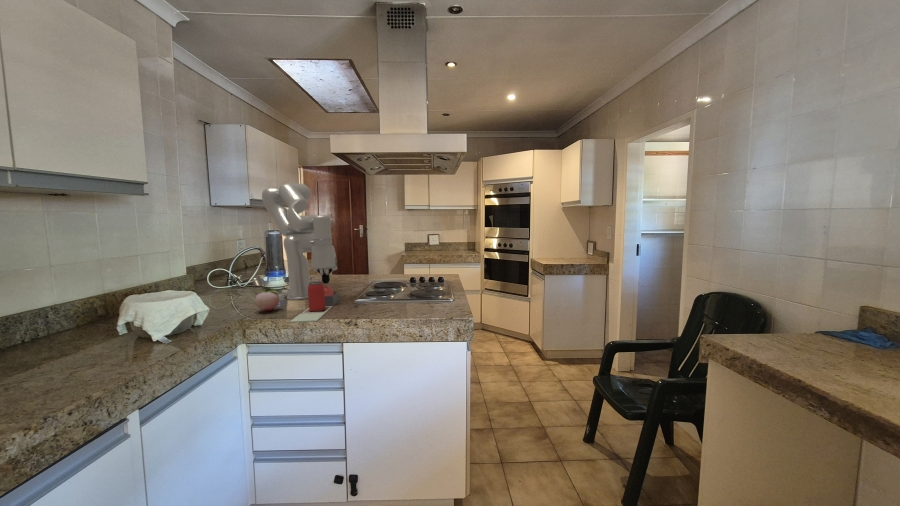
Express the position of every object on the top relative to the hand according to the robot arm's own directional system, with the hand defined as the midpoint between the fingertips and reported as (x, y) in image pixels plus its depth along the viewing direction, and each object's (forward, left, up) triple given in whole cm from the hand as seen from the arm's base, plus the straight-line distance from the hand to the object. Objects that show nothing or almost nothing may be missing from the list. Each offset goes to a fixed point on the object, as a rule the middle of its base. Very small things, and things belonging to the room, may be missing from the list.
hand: (326, 283), depth 152 cm
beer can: (-1, -10, -10) cm, 14 cm away
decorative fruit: (-22, -9, -10) cm, 26 cm away
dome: (0, 0, -8) cm, 8 cm away
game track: (-1, -11, -10) cm, 15 cm away
